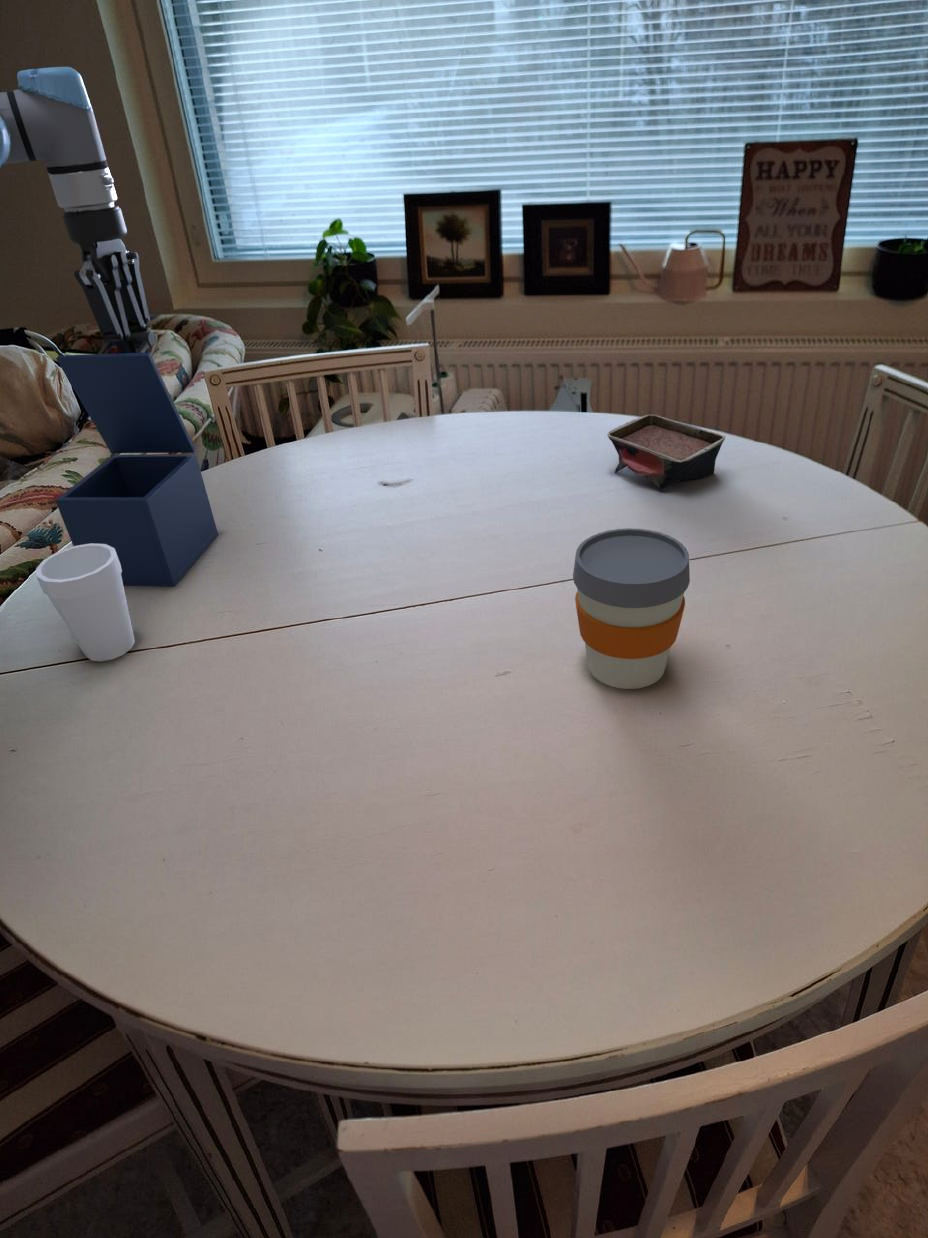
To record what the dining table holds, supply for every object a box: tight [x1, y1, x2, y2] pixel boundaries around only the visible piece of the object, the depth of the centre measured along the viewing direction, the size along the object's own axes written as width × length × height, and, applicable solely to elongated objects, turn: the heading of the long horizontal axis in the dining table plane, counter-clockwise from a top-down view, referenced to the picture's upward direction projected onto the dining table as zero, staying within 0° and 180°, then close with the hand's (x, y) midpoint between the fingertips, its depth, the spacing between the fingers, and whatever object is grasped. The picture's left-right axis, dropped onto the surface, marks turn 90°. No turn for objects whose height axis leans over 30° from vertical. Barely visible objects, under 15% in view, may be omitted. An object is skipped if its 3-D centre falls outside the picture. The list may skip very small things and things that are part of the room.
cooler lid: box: [55, 331, 197, 454], centre depth 120 cm, size 17×14×9 cm
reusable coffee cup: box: [572, 527, 691, 690], centre depth 90 cm, size 13×13×15 cm
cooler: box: [54, 453, 219, 587], centre depth 122 cm, size 16×14×14 cm
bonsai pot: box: [606, 413, 726, 491], centre depth 135 cm, size 14×18×10 cm
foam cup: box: [35, 543, 136, 662], centre depth 102 cm, size 10×9×13 cm
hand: (143, 380), depth 121 cm, fingers closed on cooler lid, 2 cm apart
